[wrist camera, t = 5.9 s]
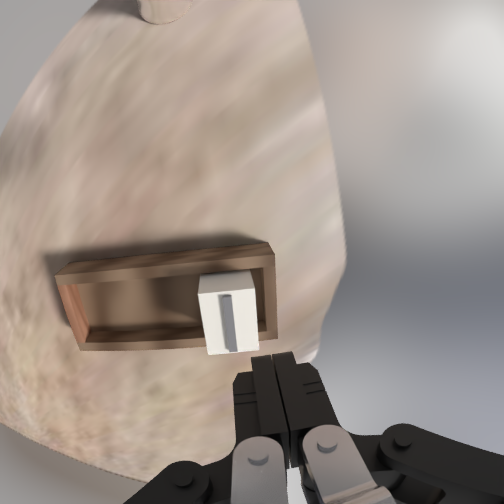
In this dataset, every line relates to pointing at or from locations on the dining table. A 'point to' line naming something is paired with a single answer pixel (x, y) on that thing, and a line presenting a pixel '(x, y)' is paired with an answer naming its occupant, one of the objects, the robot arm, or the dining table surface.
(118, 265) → the wooden tray
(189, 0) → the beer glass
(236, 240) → the dining table surface
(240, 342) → the slider block
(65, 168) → the dining table surface
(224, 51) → the dining table surface
